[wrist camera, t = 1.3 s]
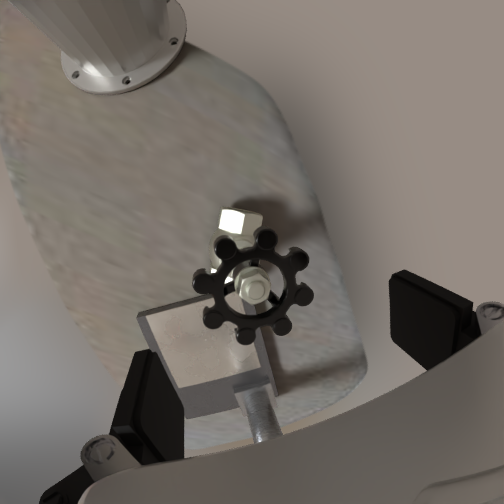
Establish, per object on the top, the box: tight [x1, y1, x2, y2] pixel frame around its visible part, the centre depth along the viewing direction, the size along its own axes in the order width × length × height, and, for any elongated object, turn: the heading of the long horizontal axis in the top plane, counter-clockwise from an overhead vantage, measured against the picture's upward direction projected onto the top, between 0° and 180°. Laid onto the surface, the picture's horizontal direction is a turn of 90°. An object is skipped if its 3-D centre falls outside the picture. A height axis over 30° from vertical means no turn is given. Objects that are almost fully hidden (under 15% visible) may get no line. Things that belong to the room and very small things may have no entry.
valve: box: [192, 207, 314, 345], centre depth 21 cm, size 7×7×12 cm
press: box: [137, 293, 283, 443], centre depth 18 cm, size 15×11×23 cm
